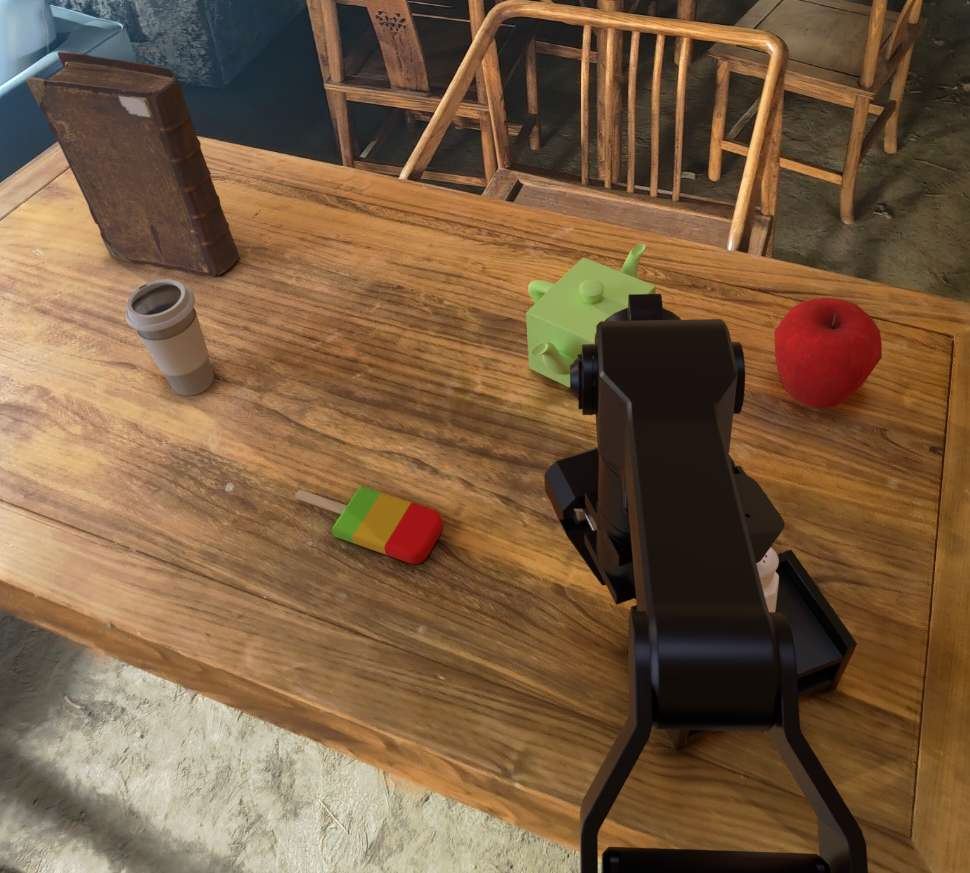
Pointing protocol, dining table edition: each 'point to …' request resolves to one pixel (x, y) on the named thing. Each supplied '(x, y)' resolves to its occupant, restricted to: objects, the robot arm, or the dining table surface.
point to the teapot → (577, 311)
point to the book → (137, 162)
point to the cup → (172, 334)
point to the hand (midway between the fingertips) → (635, 634)
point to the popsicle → (383, 523)
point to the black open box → (802, 636)
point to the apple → (826, 351)
